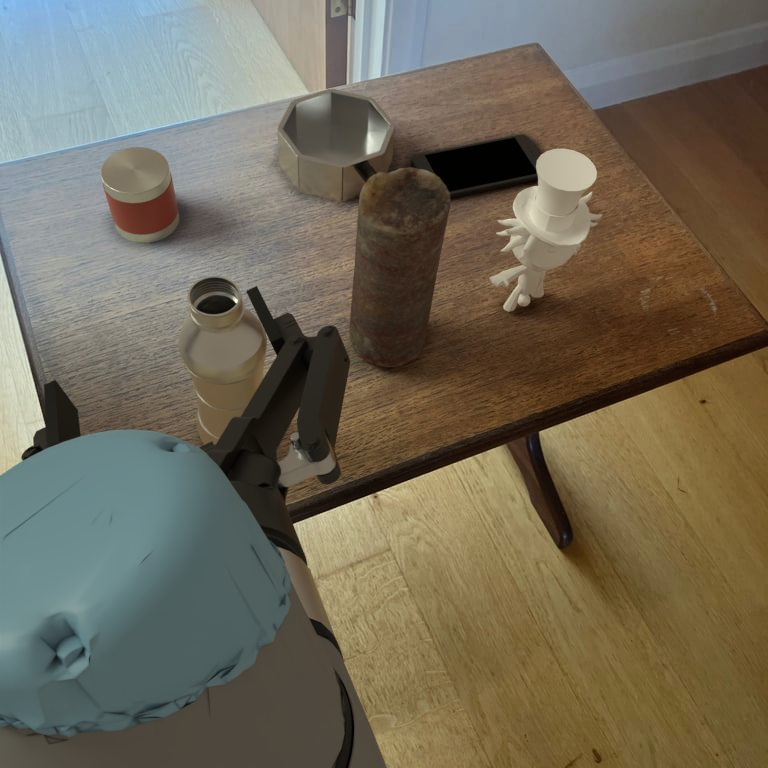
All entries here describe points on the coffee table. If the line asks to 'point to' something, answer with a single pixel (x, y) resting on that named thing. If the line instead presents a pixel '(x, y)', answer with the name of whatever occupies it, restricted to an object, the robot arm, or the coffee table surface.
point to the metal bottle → (221, 353)
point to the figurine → (547, 222)
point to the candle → (396, 263)
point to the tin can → (140, 194)
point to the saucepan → (334, 143)
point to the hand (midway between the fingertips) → (161, 350)
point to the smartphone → (482, 164)
